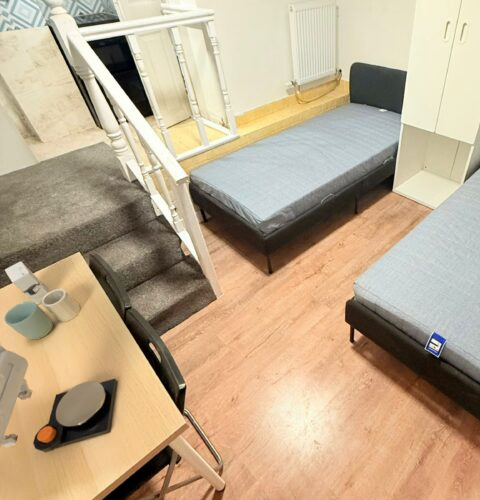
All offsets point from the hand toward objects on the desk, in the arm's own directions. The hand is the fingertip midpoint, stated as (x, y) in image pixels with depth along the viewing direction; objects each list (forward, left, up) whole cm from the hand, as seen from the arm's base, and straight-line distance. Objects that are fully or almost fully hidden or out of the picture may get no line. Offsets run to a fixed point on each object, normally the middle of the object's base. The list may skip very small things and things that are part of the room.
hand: (21, 417), depth 70 cm
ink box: (-17, +50, -14) cm, 55 cm away
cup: (-12, +34, -14) cm, 39 cm away
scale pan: (+6, +5, -10) cm, 13 cm away
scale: (+5, +4, -14) cm, 15 cm away
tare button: (0, 0, -10) cm, 10 cm away
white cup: (-6, +39, -14) cm, 42 cm away
